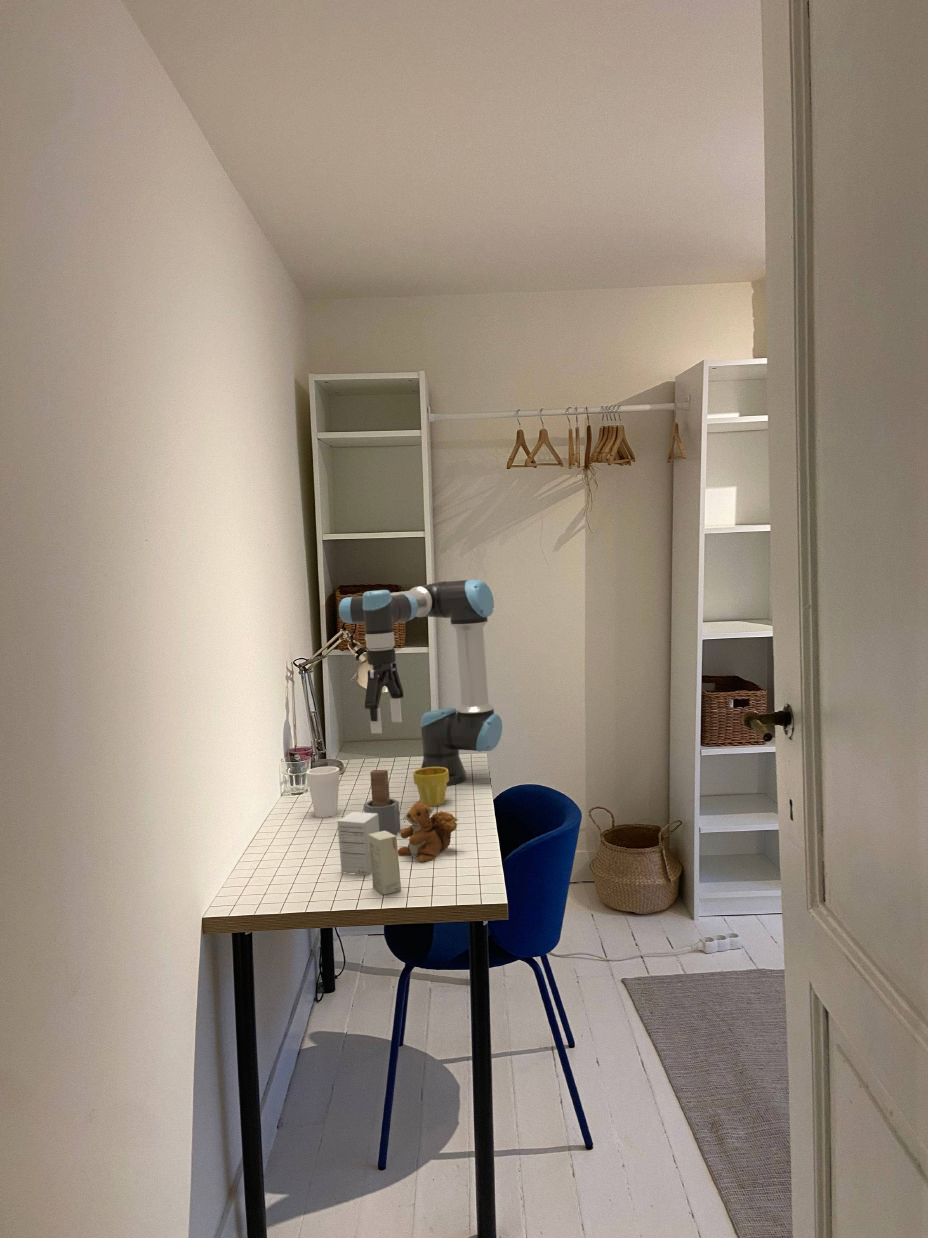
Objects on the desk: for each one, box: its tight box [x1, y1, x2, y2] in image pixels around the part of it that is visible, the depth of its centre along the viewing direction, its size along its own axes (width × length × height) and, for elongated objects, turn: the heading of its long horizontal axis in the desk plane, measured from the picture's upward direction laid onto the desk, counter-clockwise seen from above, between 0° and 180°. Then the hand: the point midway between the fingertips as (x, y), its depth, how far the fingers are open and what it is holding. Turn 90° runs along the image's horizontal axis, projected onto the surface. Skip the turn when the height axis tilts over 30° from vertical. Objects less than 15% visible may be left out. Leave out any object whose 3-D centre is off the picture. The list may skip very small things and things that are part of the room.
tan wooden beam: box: [369, 769, 391, 807], centre depth 235 cm, size 2×4×16 cm, turn 72°
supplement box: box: [336, 811, 379, 876], centre depth 207 cm, size 7×7×13 cm
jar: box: [363, 798, 402, 836], centre depth 235 cm, size 9×9×8 cm
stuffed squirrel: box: [398, 800, 459, 864], centre depth 215 cm, size 10×14×13 cm
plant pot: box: [412, 767, 449, 807], centre depth 260 cm, size 10×10×10 cm
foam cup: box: [306, 766, 341, 819], centre depth 256 cm, size 10×9×13 cm
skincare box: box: [369, 831, 402, 895], centre depth 194 cm, size 6×4×12 cm
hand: (387, 727), depth 236 cm, fingers open, 13 cm apart
